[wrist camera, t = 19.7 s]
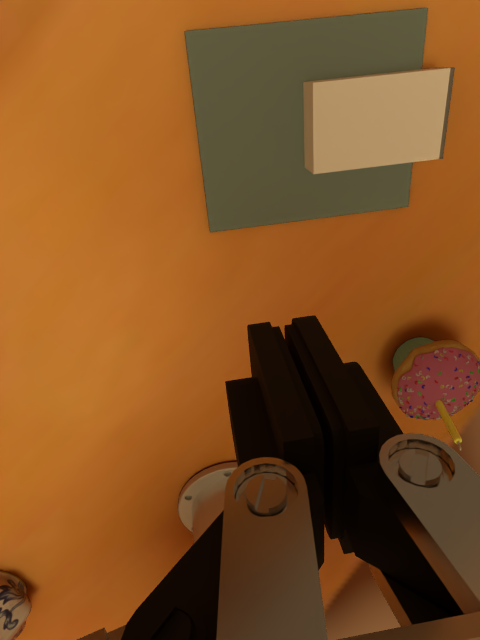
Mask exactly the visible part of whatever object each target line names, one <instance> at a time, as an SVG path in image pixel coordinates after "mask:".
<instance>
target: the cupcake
mask: <svg viewBox="0 0 480 640" xmlns="http://www.w3.org/2000/svg"><path fill="white" fill-rule="evenodd" d="M393 367H394V371H395V373H394V375H393V377H392V380H391V389H392V396H393V398H394V400H395V401H396V403H397V404H398V406H399V408H401V410H402V411H403V412H404V413H405V414H406V416H407V417H409V416H410V417H411V418H413V417H414V418H416V419H420V418H421V419H425V420H428V419H433V420H436V419H439V418H442V419H443V421H444V423H445V425H446V427H447V429H448V431H449V433H450V435H451V437H452V439H453V441H454V443H456V444H458V446H459V450H462V447H461V445H460V443H461V442H462V439H461V437H460V435H459V433H458V431H457V429H456V427H455V425H454V423H453V422H452V420H451V418H450V416H452V415H453V414H455V413H456V412H458V411H460V410H461V409H462V408H464V407H465V406H466V405H468V404H469V402H472V401H473V398H474V396H475V395H476V394H477V392H479V390H480V389H479V388H480V362H479V359H478V357H477V355H476V354H475V353H474V352H473V351H472V350H470V349H469V348H467V347H465V346H464V345H462V344H461V343H459V342H458V341H455V340H440V341H433V340H431V339H429V338H425V337H417V338H413V339H410V340H408V341H406V342H405V343H403V344H402V345H401V346H400V347H399V348H398V349H397V351H396V352H395V354H394V357H393ZM408 415H409V416H408Z"/></svg>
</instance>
